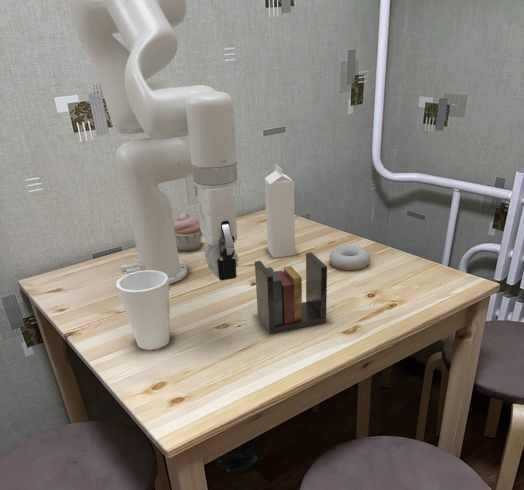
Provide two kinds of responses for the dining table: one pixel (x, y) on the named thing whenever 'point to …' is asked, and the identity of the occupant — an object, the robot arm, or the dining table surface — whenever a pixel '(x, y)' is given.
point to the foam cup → (147, 306)
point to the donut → (349, 257)
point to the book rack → (291, 296)
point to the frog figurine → (215, 257)
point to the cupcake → (187, 232)
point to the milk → (280, 214)
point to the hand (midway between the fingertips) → (222, 269)
